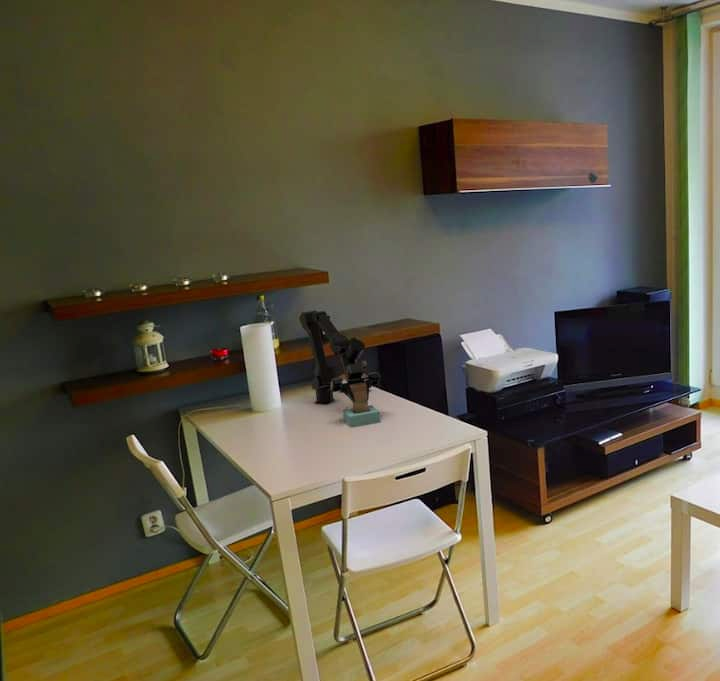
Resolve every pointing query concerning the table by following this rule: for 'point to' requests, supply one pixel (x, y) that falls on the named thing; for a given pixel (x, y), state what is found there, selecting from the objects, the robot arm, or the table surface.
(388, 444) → the table surface
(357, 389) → the slat
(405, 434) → the table surface
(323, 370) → the robot arm
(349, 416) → the rectangular frame
